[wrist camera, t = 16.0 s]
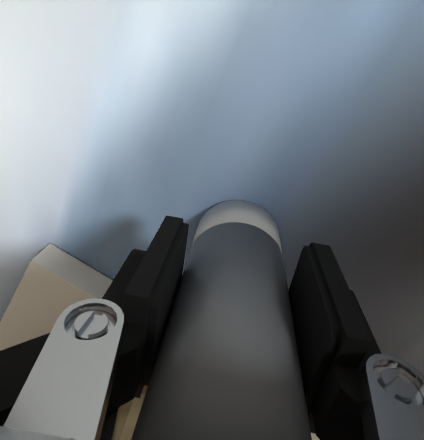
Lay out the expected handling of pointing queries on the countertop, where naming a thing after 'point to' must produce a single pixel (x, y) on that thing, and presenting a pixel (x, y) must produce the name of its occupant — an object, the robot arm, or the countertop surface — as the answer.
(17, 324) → the dial base
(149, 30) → the countertop surface
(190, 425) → the grey rounded cylinder
